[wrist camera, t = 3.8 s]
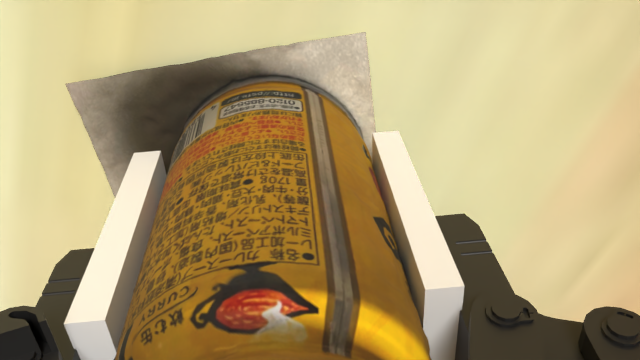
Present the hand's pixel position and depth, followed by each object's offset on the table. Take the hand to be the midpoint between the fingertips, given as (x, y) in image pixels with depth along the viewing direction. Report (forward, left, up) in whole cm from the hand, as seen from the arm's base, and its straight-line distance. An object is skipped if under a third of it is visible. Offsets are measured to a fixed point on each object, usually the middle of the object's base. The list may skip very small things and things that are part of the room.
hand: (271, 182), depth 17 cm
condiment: (+1, 0, -2) cm, 2 cm away
